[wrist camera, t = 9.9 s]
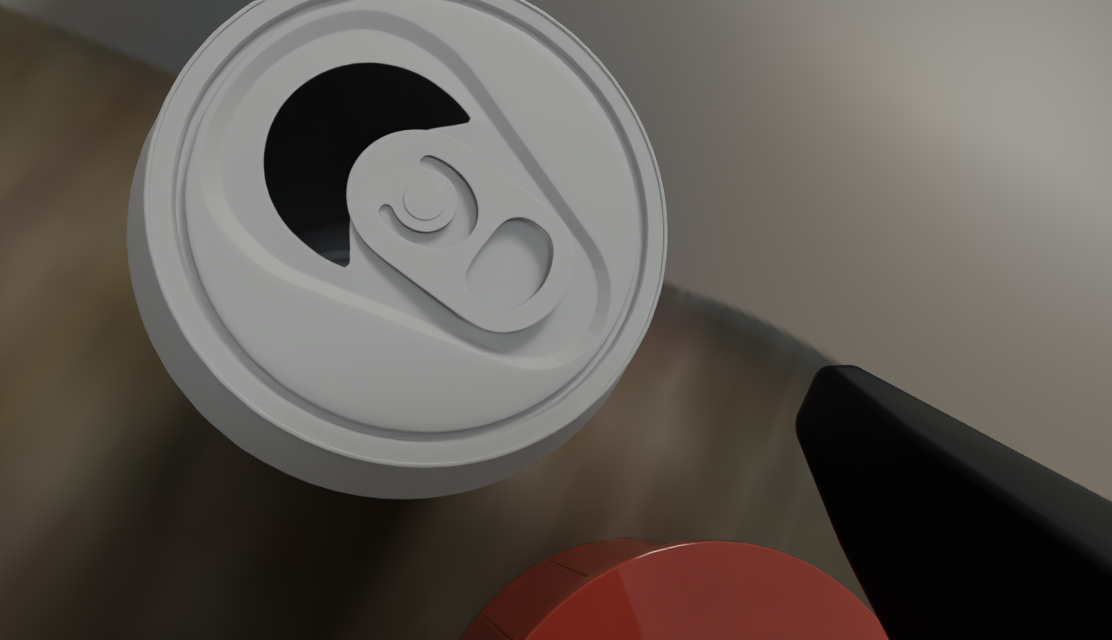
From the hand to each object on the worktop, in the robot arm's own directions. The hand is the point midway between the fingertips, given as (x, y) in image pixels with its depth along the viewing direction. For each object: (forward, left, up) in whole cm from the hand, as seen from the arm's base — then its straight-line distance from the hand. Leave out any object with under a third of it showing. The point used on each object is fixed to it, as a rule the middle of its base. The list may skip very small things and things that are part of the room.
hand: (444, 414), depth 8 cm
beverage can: (+2, +1, -12) cm, 12 cm away
